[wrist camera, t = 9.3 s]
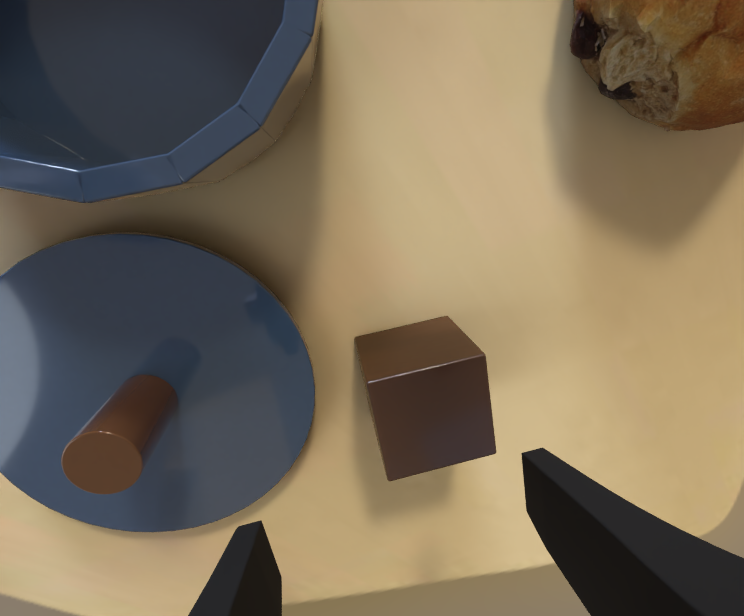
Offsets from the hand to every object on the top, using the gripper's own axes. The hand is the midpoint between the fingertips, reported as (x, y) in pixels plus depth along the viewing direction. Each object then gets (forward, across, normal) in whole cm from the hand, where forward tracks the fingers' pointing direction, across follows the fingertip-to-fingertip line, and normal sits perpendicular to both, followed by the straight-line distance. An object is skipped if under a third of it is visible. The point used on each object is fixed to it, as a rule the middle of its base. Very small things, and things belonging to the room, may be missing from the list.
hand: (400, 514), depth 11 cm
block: (+9, -2, 0) cm, 9 cm away
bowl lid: (+8, +9, -2) cm, 12 cm away
